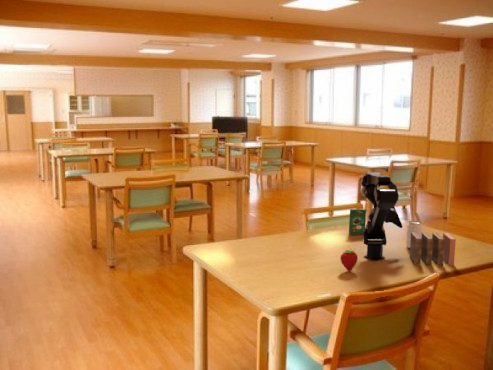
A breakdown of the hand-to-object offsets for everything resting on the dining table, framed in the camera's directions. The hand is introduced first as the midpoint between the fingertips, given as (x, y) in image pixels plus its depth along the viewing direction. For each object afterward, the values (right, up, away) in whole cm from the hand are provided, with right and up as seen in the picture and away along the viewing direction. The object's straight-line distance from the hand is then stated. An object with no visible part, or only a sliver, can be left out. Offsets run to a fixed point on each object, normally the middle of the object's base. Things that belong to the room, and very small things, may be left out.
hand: (400, 224), depth 221 cm
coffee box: (-12, -8, +34) cm, 37 cm away
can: (+9, -12, +10) cm, 18 cm away
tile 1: (+3, -15, -10) cm, 18 cm away
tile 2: (+8, -15, -10) cm, 19 cm away
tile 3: (+12, -15, -10) cm, 22 cm away
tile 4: (+17, -15, -11) cm, 25 cm away
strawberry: (-27, -17, -23) cm, 40 cm away
